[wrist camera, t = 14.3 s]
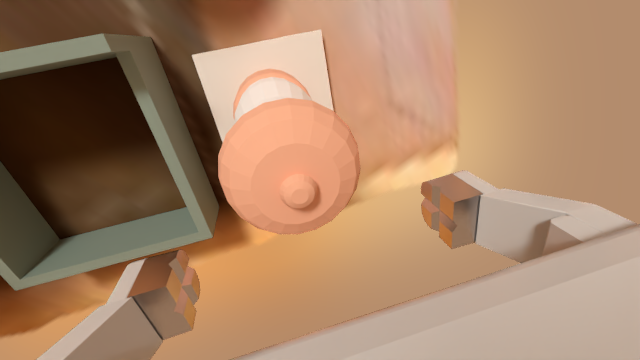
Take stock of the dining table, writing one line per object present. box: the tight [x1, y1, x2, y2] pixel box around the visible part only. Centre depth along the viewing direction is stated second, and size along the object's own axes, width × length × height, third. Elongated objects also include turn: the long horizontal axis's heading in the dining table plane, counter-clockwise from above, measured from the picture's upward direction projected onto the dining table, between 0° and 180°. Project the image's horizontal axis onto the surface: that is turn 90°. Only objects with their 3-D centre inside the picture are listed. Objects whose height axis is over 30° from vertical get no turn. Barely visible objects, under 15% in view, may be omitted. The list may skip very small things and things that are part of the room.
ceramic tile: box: [192, 29, 333, 142], centre depth 29 cm, size 12×12×1 cm
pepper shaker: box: [218, 69, 360, 234], centre depth 20 cm, size 7×7×19 cm
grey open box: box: [0, 34, 219, 291], centre depth 24 cm, size 18×18×9 cm
